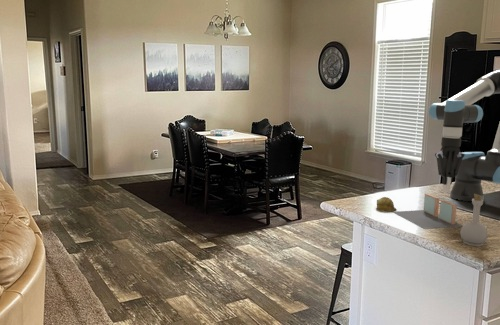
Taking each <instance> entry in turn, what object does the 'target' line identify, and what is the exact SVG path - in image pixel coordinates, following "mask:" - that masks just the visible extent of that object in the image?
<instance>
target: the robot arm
mask: <svg viewBox="0 0 500 325" xmlns="http://www.w3.org/2000/svg"><path fill="white" fill-rule="evenodd" d="M495 94H500V69H497V70H494V71H491V72H489V73H487V74H485V75H483V76H481V77H480V78H478V79H476V82H474V84H472V85H470V86H468V87H467V88H465V89H463V90H462V91H460V92H458V93H457V94H455V95H453V96H451V97H450V98H448V99H446V100H445V101H443V102H434V103H432V104H431V105H430V106H429V108H428V115H429V117H430V118H431V119H432V120H437V121H443V125H442V137H441V141H440V142H441V144H440V145H441V148H440V151H439V152H436V153H435V154H434V156H435V158H436V164H437V171H438V173H437V174H438V176H441V177H442V181H441V183H442V192H444V193H447V194H448V193H449V198H451V199H453V200H456V199H458V200H457V201H461V200H463V201H462V202H468V201H472V199H474V194H477V195H480V196H482V200H483V201H484V199H485V195H484V194H485V193H484V191H483V187H482V181H483V182H489V183H495V184H496V185H500V122H499V124H498V127H497V130H496V134H495V138H494V141H493V144H492V148H491V149H490V150H488V151H487V152H486V154H485V152H483V151H464V152H463V151H462V152H461V149H460V147H461V145H462V136H463V126H464V125H463V124H464V123H471V124H472V123H473V124H474V123H478V122H479V121H481V120H482V118H483V117H484V111H483V108H482V107H481V106H480V105H478V104H474V103H476V102H478V101H480V100H481V99H483V98H484V97H490V96H492V95H495ZM453 178H455V179H454V180H455V181H454V182H453ZM452 183H454V184H453V186H452V188H451V185H452Z"/></svg>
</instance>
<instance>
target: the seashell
mask: <svg viewBox="0 0 500 325" xmlns="http://www.w3.org/2000/svg"><path fill="white" fill-rule="evenodd" d="M376 209H377V211H381V212H387V213H393V212H396V211H397V208H396V207H395V204H394V201H393V200H392V199H391V198H390V197H387V196H383V197H380V198H379V199H376Z"/></svg>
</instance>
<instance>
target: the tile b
mask: <svg viewBox="0 0 500 325" xmlns="http://www.w3.org/2000/svg"><path fill="white" fill-rule="evenodd" d="M457 205H458V204H455V203H453V202H451V201H449V200H446V199H440V202H439V219H441V220H443V221H445V222H447V223H450V224H455V222H456V218H457V217H456V216H457V207H458V206H457Z"/></svg>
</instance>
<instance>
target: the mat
mask: <svg viewBox="0 0 500 325" xmlns="http://www.w3.org/2000/svg"><path fill="white" fill-rule="evenodd" d="M423 210H424V209H419V210H417V209H416V210H403V211H402V210H401V211H400V210H398V211H397V210H396V211H394V212H392V213H393V214H395V215H396V216H399V217H400V218H403V219H405V221H408V222H410V223H412V224H414V225H416V226H418V227H419V228H421V229H424V230H429V229H431V230H432V229H443V228H444V229H446V228H448V229H449V228H462V227H463V225H464V224H461V223H460V222H456V221H455V224H450V223H447V222H445V221H443V220H441V219H439V215H440V213H438V216H436V217H434V216H432V215H430V214H428V213H426V212H424V211H423Z"/></svg>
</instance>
